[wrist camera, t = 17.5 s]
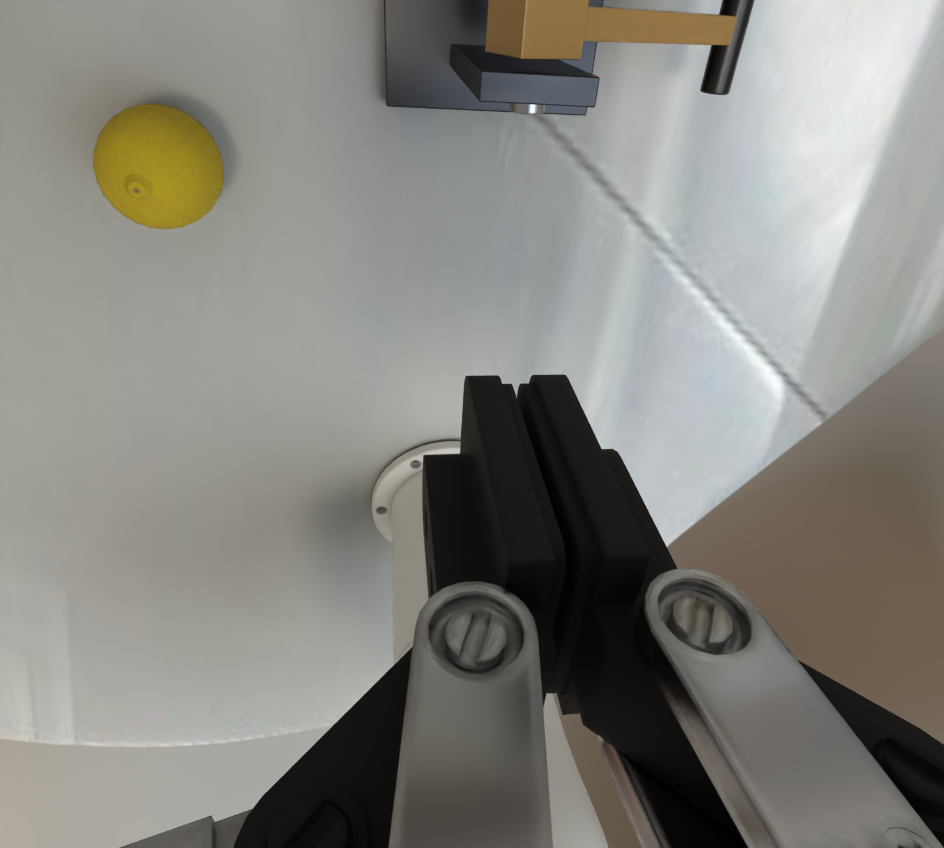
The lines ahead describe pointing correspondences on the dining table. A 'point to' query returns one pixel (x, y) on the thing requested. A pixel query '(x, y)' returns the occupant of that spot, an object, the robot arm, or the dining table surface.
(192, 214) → the lemon
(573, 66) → the bracket
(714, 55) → the lever
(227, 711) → the dining table surface
